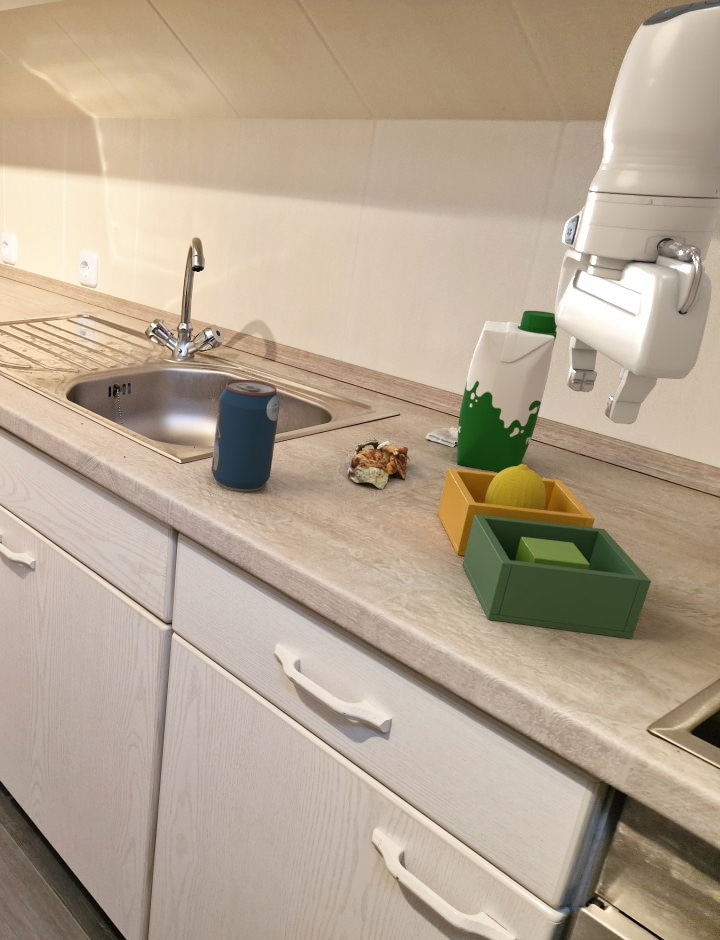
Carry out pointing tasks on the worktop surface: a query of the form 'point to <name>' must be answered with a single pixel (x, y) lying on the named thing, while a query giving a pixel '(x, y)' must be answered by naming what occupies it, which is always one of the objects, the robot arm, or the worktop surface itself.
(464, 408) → the milk carton
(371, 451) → the pastry
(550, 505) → the ochre bin
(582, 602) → the green bin
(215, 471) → the soda can
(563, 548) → the green block
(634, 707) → the worktop surface
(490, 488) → the lemon
